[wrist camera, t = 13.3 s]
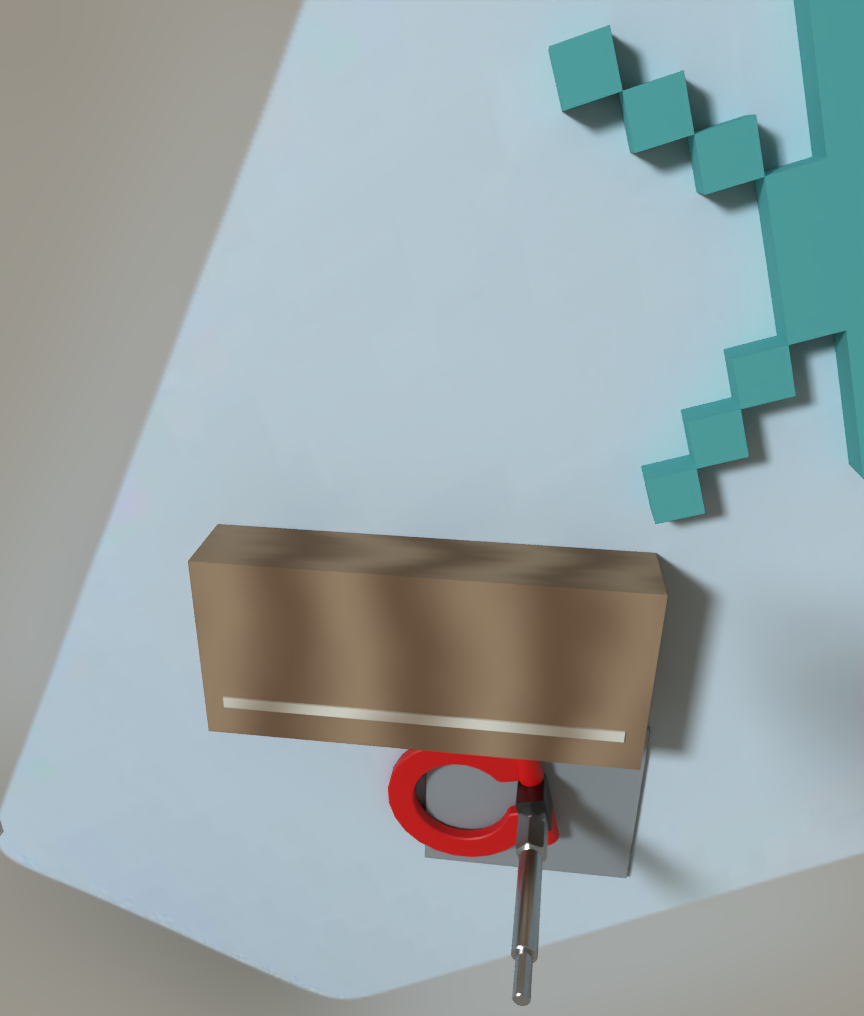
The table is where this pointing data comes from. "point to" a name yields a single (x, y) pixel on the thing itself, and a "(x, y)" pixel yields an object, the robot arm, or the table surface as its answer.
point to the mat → (576, 805)
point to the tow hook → (490, 837)
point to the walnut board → (429, 643)
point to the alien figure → (762, 227)
